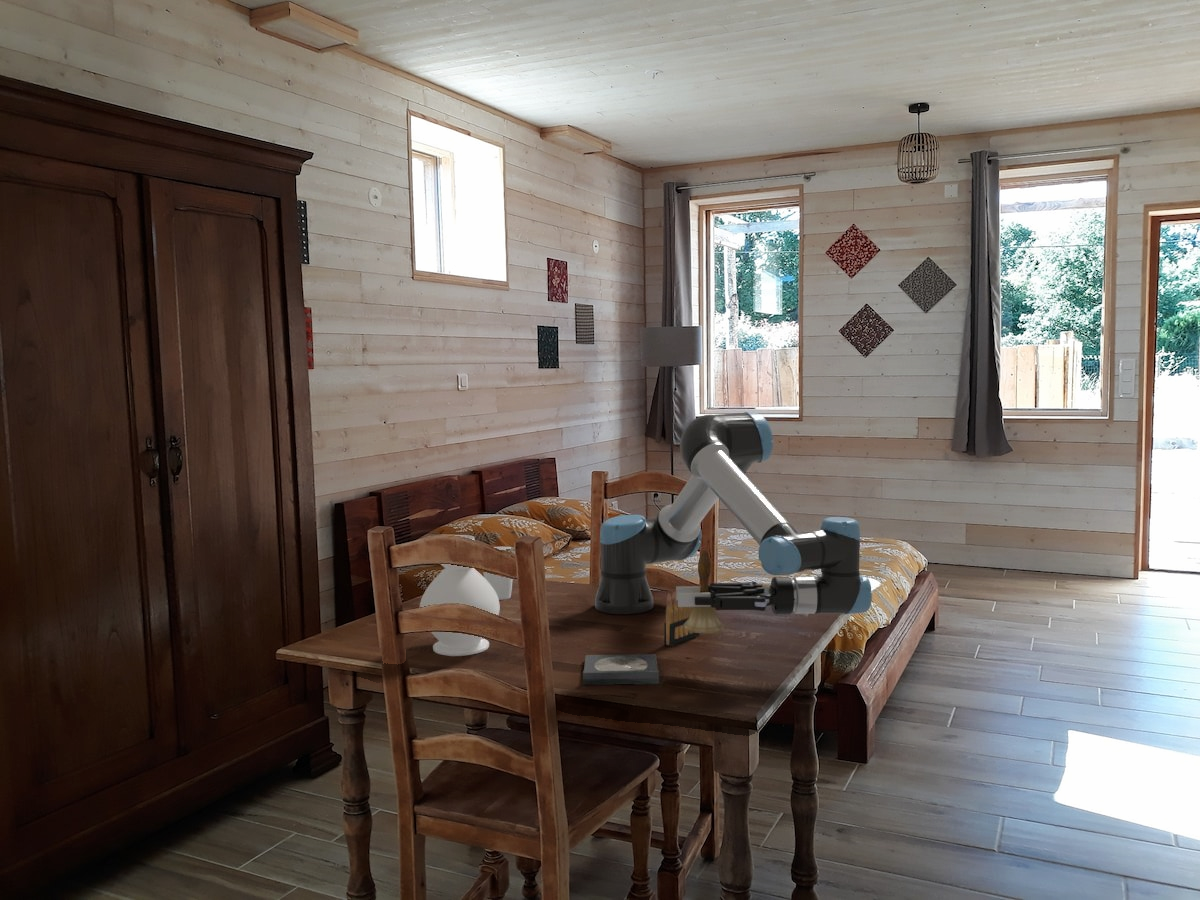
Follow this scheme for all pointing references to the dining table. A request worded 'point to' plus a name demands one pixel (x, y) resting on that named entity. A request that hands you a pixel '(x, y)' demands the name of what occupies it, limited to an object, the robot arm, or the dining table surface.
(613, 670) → the plate
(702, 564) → the hand bell
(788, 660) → the dining table surface
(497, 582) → the foam cup
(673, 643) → the ammunition clip
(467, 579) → the decorative vase
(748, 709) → the dining table surface
